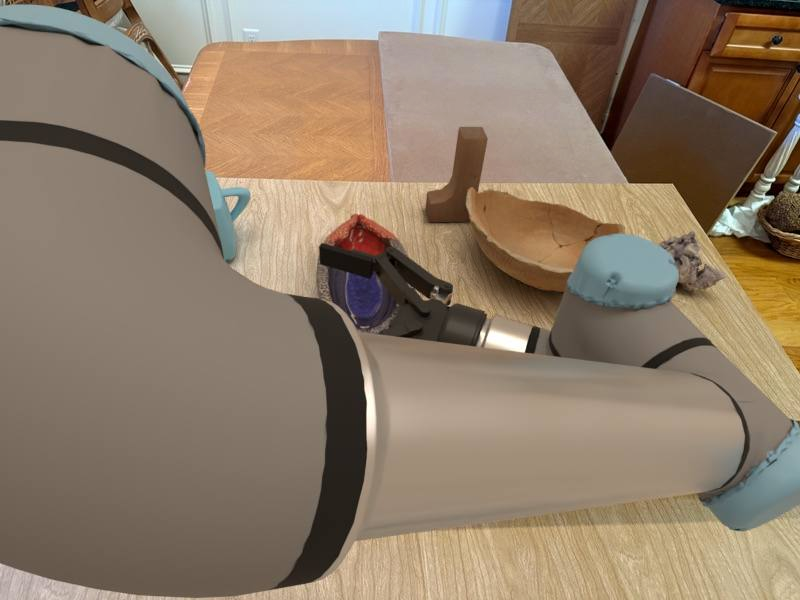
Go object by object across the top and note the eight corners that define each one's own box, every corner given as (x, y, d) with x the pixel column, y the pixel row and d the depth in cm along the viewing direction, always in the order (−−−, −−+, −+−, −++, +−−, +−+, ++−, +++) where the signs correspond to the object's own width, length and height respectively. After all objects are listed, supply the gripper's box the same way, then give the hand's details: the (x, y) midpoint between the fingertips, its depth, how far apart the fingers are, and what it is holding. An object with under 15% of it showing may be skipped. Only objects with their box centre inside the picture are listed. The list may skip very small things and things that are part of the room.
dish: (311, 358, 79) (309, 335, 76) (322, 231, 101) (321, 209, 98) (416, 357, 81) (418, 335, 77) (404, 232, 102) (406, 210, 99)
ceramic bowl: (606, 215, 107) (634, 155, 95) (635, 331, 91) (674, 276, 79) (455, 209, 107) (464, 148, 95) (458, 323, 92) (469, 268, 79)
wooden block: (427, 223, 105) (437, 138, 93) (424, 209, 108) (433, 125, 96) (473, 222, 106) (488, 138, 94) (468, 209, 109) (483, 125, 97)
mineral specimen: (729, 290, 90) (720, 233, 87) (671, 304, 91) (662, 248, 89) (696, 273, 101) (688, 222, 99) (646, 286, 103) (636, 236, 100)
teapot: (267, 240, 99) (258, 175, 89) (202, 291, 88) (184, 224, 79) (193, 208, 105) (177, 144, 95) (124, 252, 94) (98, 186, 85)
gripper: (437, 472, 49) (233, 396, 53) (500, 296, 65) (342, 250, 70) (446, 427, 43) (219, 347, 48) (513, 248, 60) (340, 202, 65)
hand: (292, 289), depth 59 cm, fingers open, 13 cm apart
